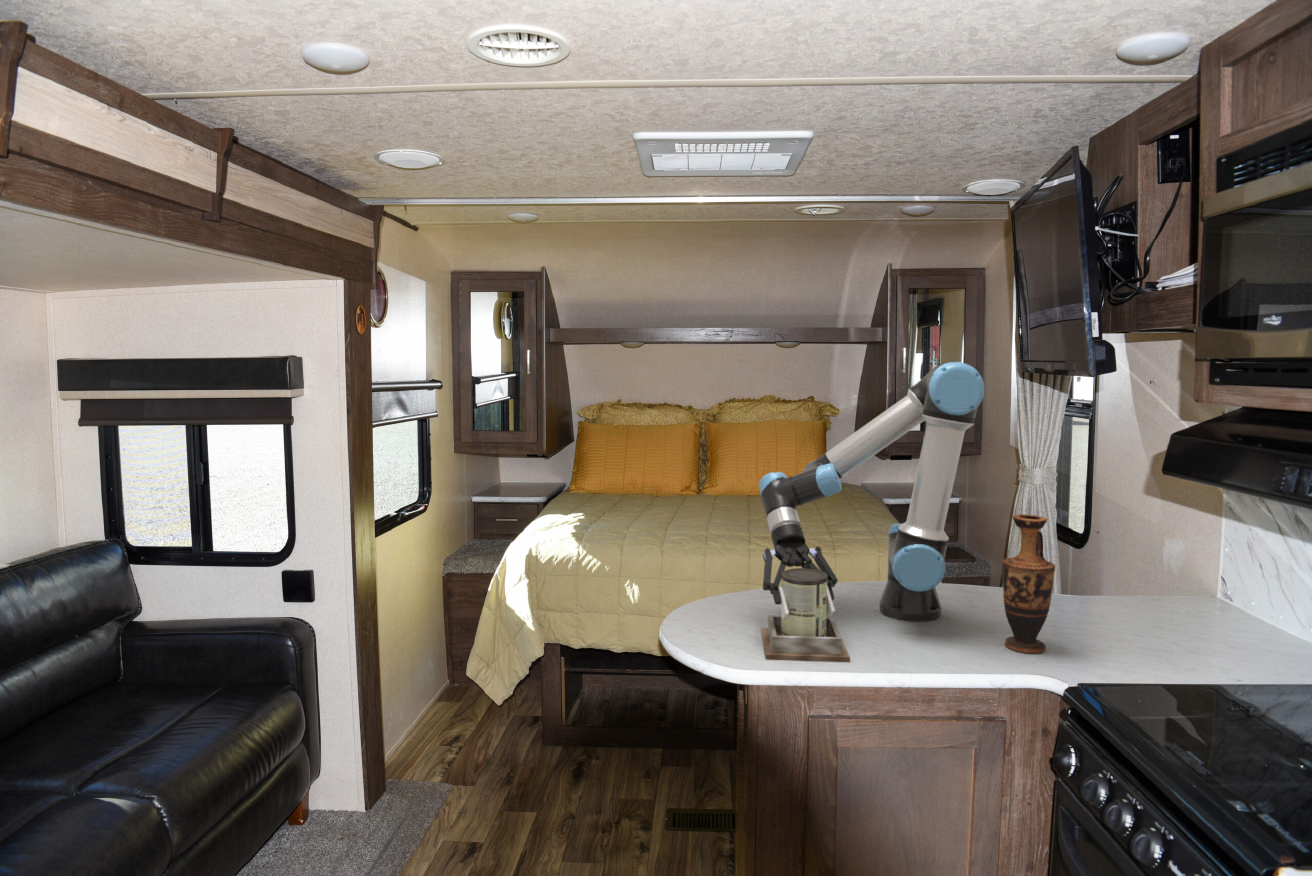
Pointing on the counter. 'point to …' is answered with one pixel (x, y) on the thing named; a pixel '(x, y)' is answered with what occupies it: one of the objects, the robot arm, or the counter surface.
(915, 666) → the counter surface
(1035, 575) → the vase
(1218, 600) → the counter surface
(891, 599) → the robot arm
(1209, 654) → the counter surface
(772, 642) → the collar board
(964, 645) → the counter surface
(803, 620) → the coffee can
